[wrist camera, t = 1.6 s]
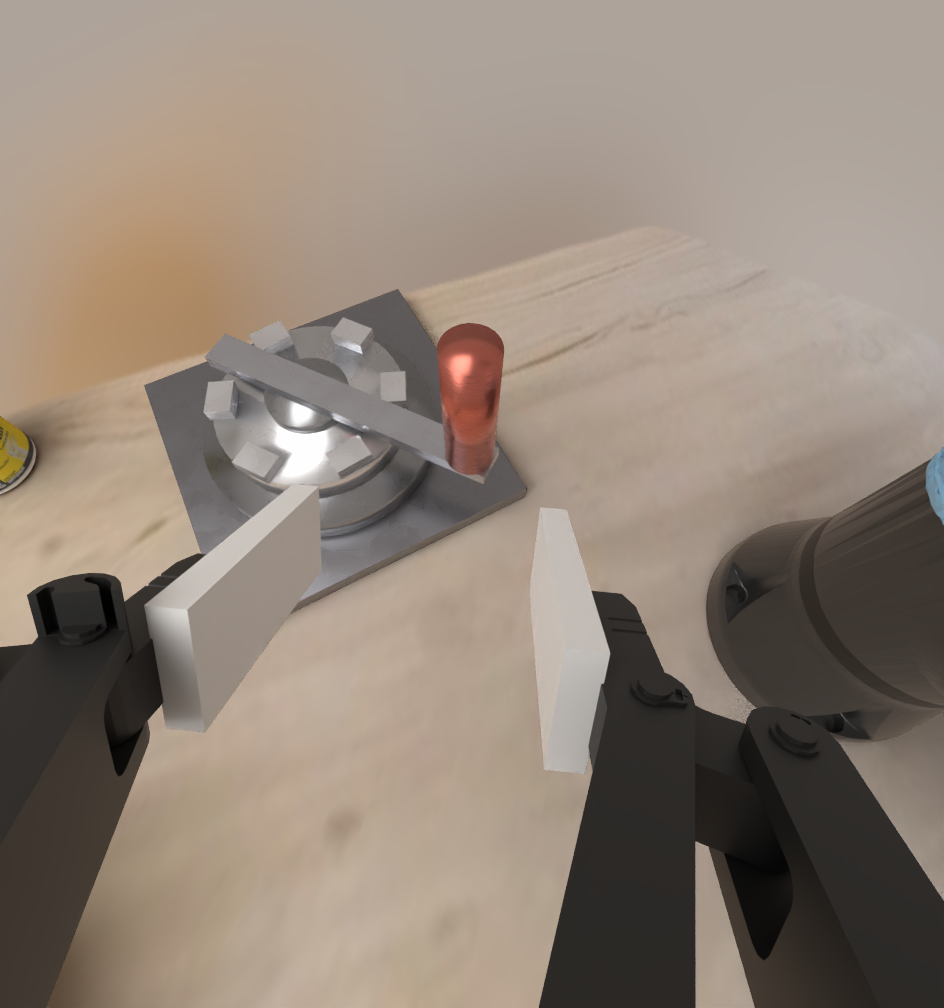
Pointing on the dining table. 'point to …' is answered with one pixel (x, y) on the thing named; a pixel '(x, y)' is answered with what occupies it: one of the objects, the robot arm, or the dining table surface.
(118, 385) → the dining table surface
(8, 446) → the pill bottle
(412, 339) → the grey crank base
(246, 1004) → the dining table surface
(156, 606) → the robot arm
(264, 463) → the red grip crank lever
